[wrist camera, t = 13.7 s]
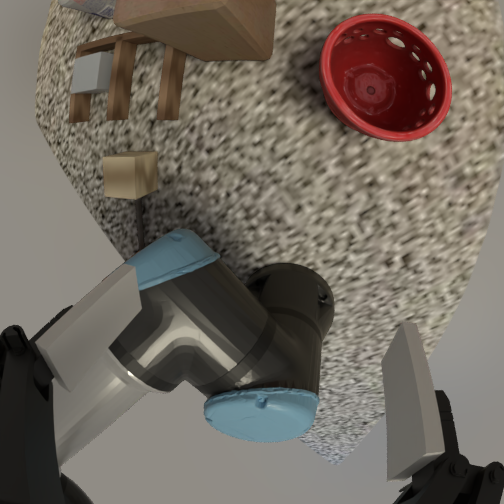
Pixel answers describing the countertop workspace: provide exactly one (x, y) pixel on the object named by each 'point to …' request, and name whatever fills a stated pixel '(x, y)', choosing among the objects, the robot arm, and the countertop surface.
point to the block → (92, 73)
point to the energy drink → (92, 6)
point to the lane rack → (123, 78)
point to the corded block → (131, 180)
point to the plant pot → (384, 78)
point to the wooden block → (204, 26)
